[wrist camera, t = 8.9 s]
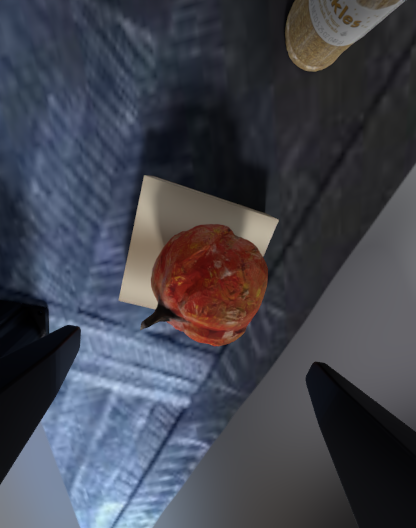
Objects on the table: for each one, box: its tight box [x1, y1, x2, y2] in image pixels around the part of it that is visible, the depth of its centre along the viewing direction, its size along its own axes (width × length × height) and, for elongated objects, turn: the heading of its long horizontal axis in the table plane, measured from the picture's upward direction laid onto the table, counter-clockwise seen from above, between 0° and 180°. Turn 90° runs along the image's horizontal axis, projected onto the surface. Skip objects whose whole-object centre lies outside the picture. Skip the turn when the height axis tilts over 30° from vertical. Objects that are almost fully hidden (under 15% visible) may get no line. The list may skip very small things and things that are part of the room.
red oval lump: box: [140, 224, 268, 346], centre depth 14 cm, size 7×7×10 cm
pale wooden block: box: [119, 175, 279, 309], centre depth 19 cm, size 10×10×4 cm
